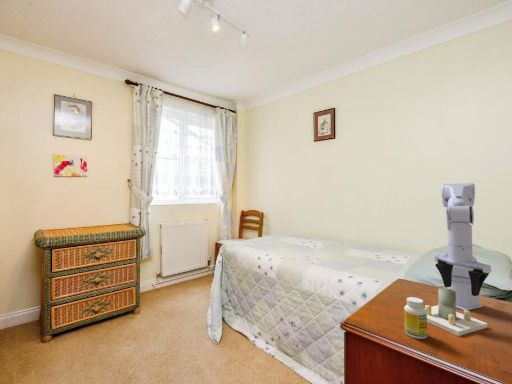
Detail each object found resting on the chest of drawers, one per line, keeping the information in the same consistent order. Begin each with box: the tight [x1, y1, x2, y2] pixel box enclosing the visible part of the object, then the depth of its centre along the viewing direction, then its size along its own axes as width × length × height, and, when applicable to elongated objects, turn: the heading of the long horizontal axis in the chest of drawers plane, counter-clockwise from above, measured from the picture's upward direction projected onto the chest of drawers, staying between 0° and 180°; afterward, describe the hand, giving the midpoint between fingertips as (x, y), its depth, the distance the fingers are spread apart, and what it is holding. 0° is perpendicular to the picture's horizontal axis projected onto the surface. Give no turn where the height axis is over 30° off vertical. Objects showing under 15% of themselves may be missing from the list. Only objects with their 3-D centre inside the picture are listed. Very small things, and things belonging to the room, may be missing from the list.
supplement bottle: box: [403, 296, 428, 340], centre depth 72 cm, size 5×5×10 cm
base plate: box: [424, 304, 488, 337], centre depth 80 cm, size 13×14×4 cm
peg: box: [437, 287, 457, 320], centre depth 80 cm, size 4×4×8 cm
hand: (461, 290), depth 78 cm, fingers open, 7 cm apart
